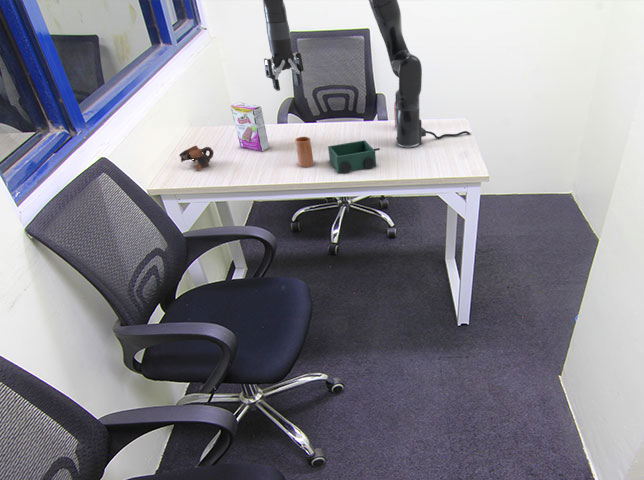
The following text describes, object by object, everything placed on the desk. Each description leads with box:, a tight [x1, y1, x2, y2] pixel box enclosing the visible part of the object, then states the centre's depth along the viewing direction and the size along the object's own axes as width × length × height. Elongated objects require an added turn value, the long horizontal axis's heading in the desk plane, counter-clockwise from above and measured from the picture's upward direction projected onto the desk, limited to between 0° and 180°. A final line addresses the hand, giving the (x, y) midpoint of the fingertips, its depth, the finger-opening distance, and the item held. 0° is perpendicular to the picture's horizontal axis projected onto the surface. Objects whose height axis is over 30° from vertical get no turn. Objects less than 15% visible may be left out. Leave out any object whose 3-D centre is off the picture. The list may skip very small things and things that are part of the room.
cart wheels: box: [340, 147, 381, 174], centre depth 192 cm, size 18×14×4 cm
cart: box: [327, 139, 377, 174], centre depth 190 cm, size 15×12×6 cm
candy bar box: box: [230, 102, 270, 152], centre depth 200 cm, size 11×5×16 cm, turn 65°
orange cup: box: [294, 136, 315, 168], centre depth 189 cm, size 5×5×10 cm
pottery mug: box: [179, 145, 215, 172], centre depth 191 cm, size 12×10×8 cm
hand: (287, 87), depth 182 cm, fingers open, 8 cm apart
